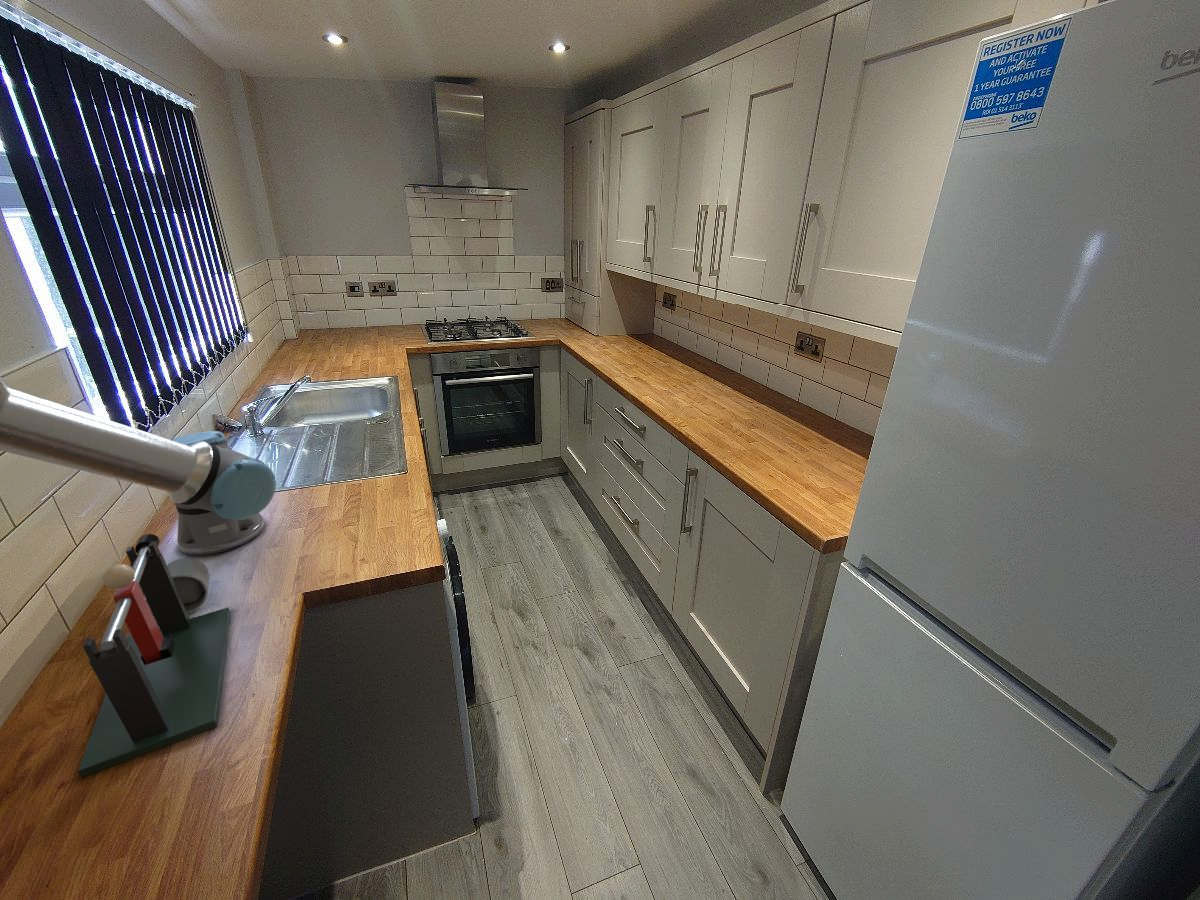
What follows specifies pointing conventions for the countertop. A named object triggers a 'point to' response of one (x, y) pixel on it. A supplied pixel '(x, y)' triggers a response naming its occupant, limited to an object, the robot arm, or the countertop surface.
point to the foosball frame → (157, 677)
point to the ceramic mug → (190, 582)
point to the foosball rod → (135, 607)
